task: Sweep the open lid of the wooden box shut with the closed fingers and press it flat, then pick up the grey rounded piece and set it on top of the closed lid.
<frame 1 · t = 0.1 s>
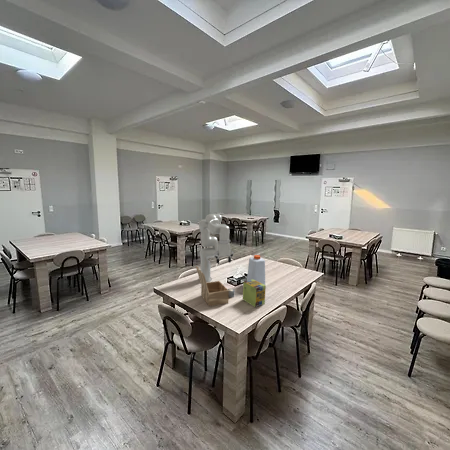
hand: (223, 263, 188), 31 cm above the table, fingers open, 9 cm apart
wooden box: (214, 299, 195), on the table
box lid: (202, 279, 188), point 18 cm above the table, hinge at 105.0°
grey rounded piece: (230, 295, 201), on the table
protein box: (253, 301, 192), on the table
plastic bottle: (255, 284, 226), on the table
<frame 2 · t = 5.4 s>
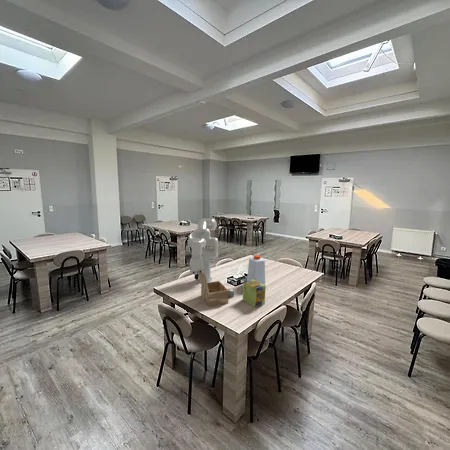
hand: (196, 279, 186), 19 cm above the table, fingers closed
box lid: (202, 279, 188), point 18 cm above the table, hinge at 102.0°, touching gripper
everything else where it was.
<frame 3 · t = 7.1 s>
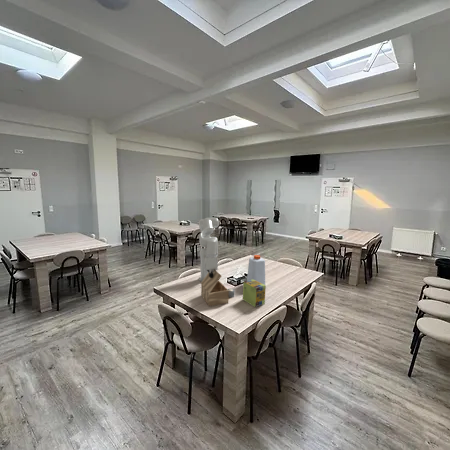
hand: (211, 277, 190), 19 cm above the table, fingers closed
box lid: (210, 279, 190), point 17 cm above the table, hinge at 51.6°, touching gripper
everything else where it was.
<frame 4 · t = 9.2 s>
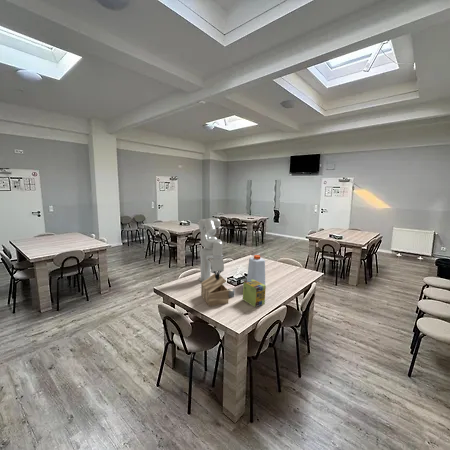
hand: (217, 278, 192), 17 cm above the table, fingers closed
box lid: (213, 282, 192), point 15 cm above the table, hinge at 28.2°, touching gripper
everything else where it was.
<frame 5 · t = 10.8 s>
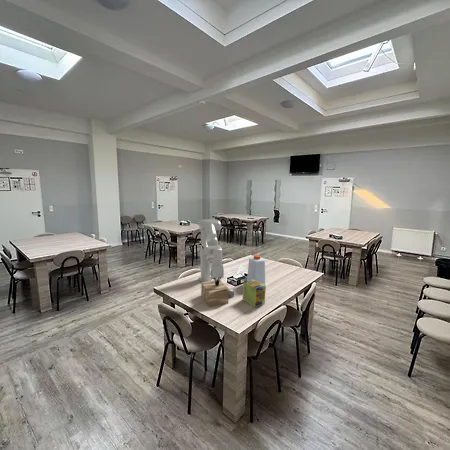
hand: (217, 285, 193), 12 cm above the table, fingers closed
box lid: (214, 285, 193), point 11 cm above the table, hinge at 3.1°, touching gripper
everything else where it was.
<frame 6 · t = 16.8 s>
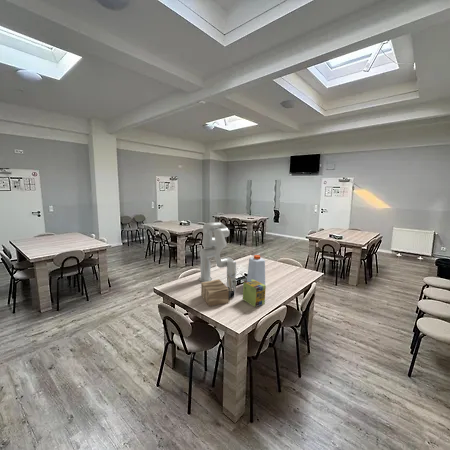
hand: (230, 294, 201), 1 cm above the table, fingers closed on grey rounded piece, 6 cm apart
box lid: (214, 285, 193), point 11 cm above the table, hinge at 3.0°
grey rounded piece: (230, 295, 201), on the table, touching gripper
everything else where it was.
when the fingers open (13 cm above the table, at t = 22.0 s): grey rounded piece stays where it is, resting on box lid.
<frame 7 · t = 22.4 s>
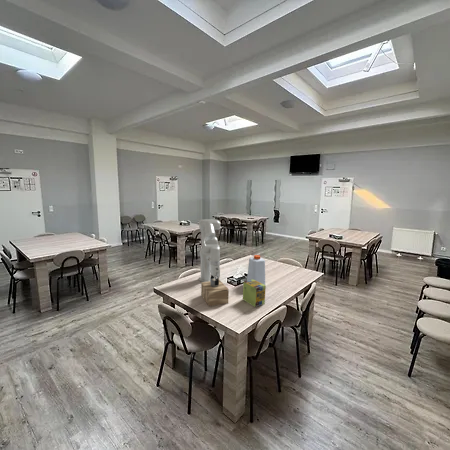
hand: (214, 282, 192), 14 cm above the table, fingers open, 9 cm apart
box lid: (214, 286, 193), point 11 cm above the table, hinge at 2.2°, touching grey rounded piece
grey rounded piece: (214, 285, 193), point 12 cm above the table, touching box lid
everything else where it was.
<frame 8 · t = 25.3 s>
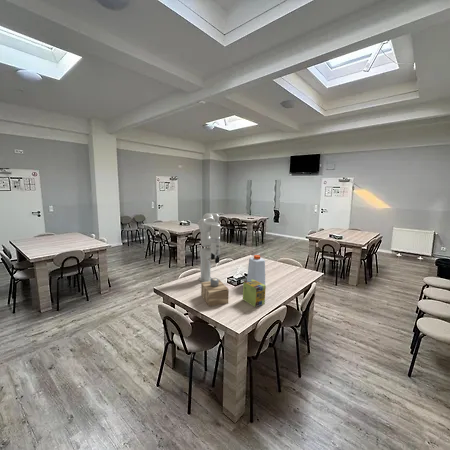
hand: (214, 260, 189), 32 cm above the table, fingers open, 9 cm apart
nothing on the table moved.
at the end: box lid at +2° (first picture: +105°); grey rounded piece inside the target area on the wooden box (0.1 cm from its centre), point 11.7 cm above the wooden box's base; grey rounded piece tilted 1° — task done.
